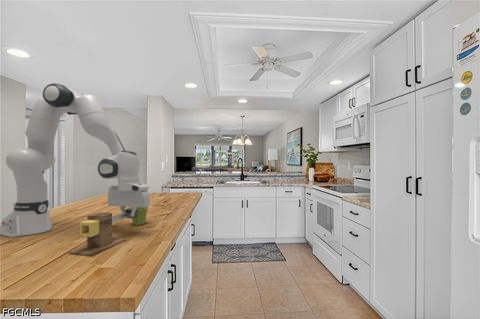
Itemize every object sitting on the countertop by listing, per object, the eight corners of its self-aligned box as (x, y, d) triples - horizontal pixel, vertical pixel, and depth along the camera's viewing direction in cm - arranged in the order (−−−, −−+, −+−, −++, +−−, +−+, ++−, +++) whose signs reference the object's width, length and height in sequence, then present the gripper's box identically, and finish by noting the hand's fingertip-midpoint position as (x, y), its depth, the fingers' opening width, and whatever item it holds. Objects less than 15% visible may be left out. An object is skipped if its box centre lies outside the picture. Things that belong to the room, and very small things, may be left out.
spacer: (91, 236, 91) (91, 223, 91) (79, 235, 92) (79, 222, 92) (99, 233, 95) (99, 220, 95) (88, 232, 96) (88, 219, 96)
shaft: (98, 231, 95) (98, 220, 95) (89, 230, 96) (89, 220, 96) (137, 217, 118) (137, 208, 118) (129, 216, 119) (129, 208, 119)
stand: (68, 253, 91) (69, 218, 91) (105, 238, 108) (105, 209, 108) (92, 256, 88) (92, 220, 88) (126, 240, 106) (126, 210, 106)
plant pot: (141, 226, 127) (142, 209, 127) (125, 225, 129) (125, 208, 129) (151, 222, 136) (152, 206, 136) (136, 221, 138) (136, 205, 138)
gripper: (104, 186, 114) (103, 216, 114) (143, 187, 110) (143, 219, 110) (113, 184, 120) (113, 213, 120) (152, 186, 116) (151, 216, 116)
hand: (128, 216), depth 115 cm, fingers closed on shaft, 2 cm apart
